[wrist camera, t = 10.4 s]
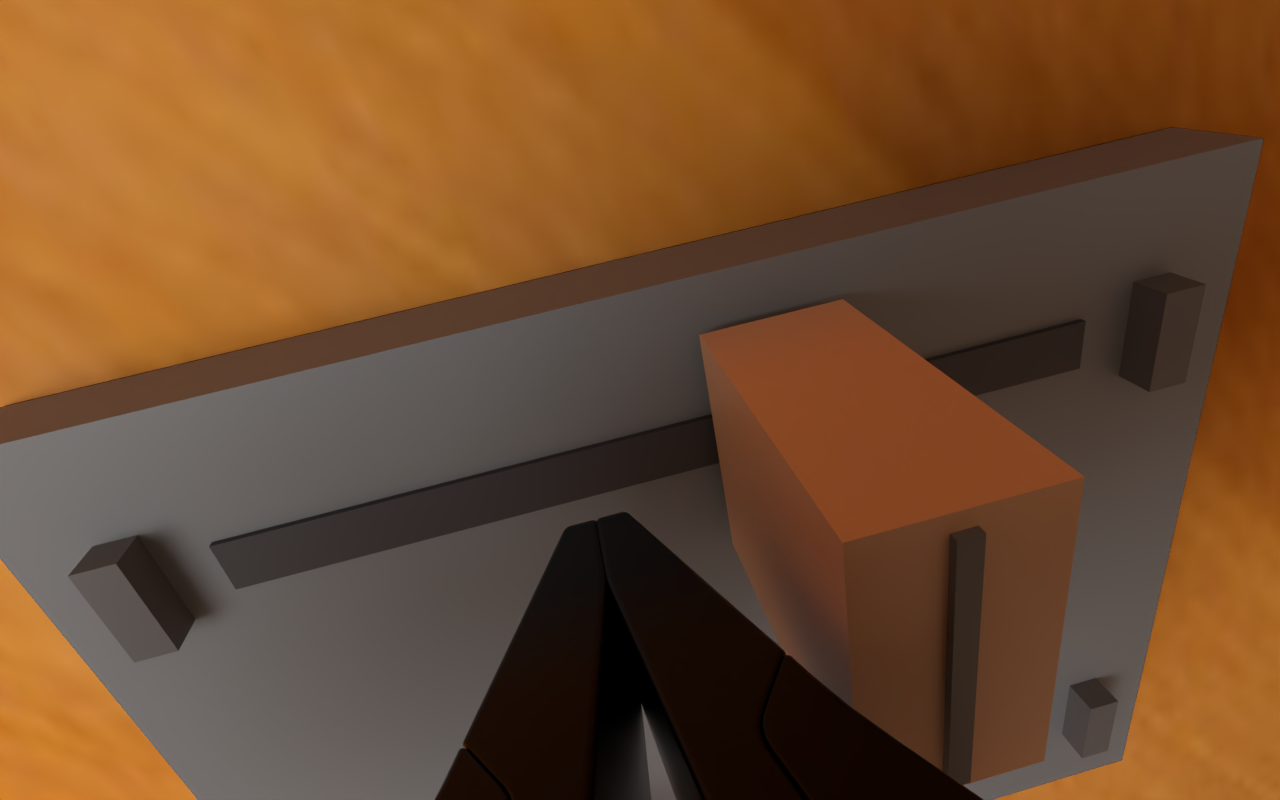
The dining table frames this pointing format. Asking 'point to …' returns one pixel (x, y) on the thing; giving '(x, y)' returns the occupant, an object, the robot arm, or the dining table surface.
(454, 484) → the console
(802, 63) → the dining table surface
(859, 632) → the fader
